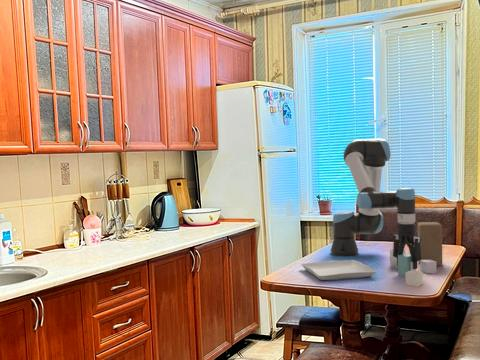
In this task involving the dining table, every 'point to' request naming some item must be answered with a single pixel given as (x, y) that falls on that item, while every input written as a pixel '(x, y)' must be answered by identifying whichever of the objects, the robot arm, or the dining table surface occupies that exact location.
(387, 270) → the dining table surface
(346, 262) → the square plate
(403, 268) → the teal block
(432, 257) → the block
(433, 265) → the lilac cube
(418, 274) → the cream cube
